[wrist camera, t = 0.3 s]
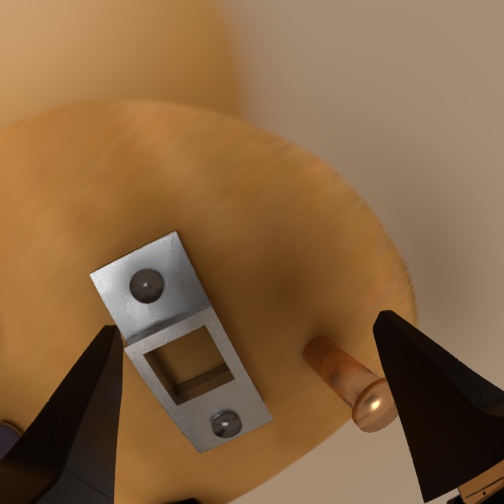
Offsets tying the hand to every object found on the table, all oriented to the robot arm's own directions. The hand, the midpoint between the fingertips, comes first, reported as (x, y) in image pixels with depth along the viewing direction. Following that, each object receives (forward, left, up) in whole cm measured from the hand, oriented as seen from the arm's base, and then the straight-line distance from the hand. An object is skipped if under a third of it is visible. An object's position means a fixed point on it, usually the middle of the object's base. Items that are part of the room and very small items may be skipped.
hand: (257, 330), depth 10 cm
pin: (-12, -5, -14) cm, 19 cm away
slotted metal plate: (-6, +5, -14) cm, 16 cm away
